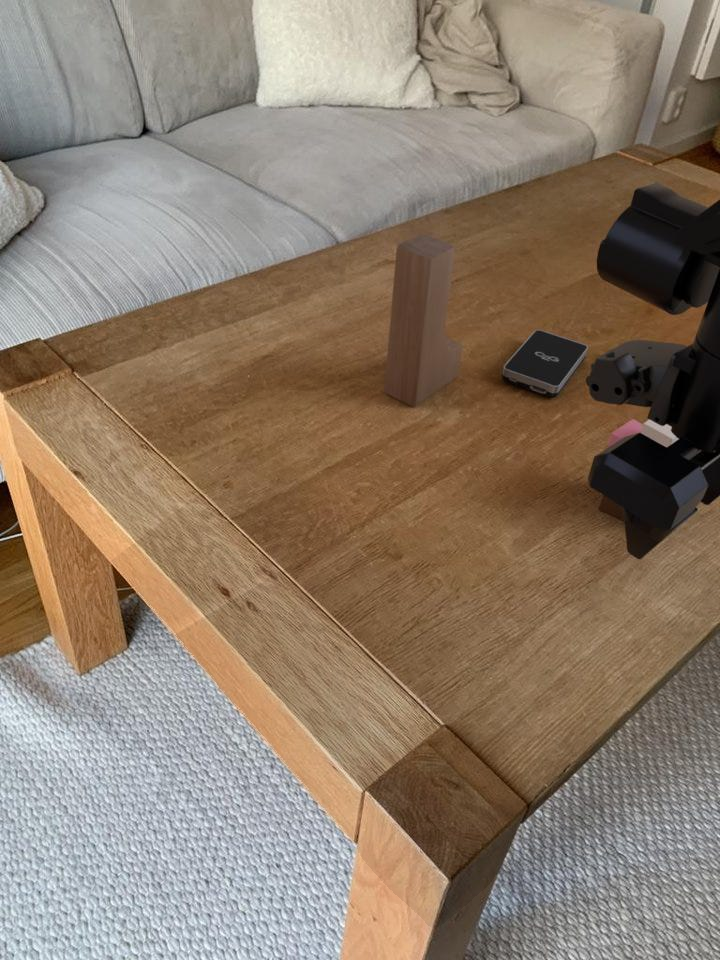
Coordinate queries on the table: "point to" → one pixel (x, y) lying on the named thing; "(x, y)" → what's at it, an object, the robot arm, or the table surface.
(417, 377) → the wooden block
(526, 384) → the external hard drive
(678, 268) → the robot arm
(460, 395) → the table surface
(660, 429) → the pink block with cube
